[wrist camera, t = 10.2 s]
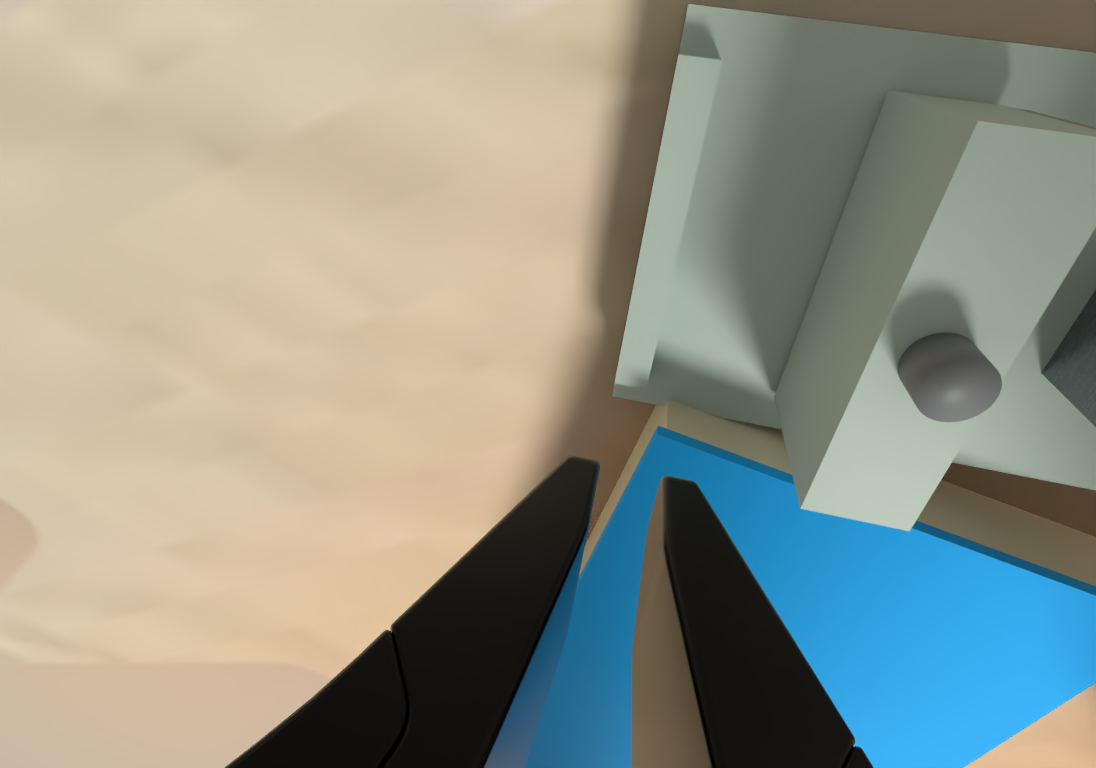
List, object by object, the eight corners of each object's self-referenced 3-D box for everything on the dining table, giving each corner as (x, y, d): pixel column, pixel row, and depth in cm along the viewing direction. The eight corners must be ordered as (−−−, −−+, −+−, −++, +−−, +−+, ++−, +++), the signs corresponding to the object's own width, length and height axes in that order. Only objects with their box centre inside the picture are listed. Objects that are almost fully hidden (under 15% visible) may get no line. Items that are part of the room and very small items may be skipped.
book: (472, 786, 31) (646, 438, 17) (494, 706, 35) (654, 364, 21) (780, 900, 31) (1213, 642, 17) (771, 807, 34) (1122, 531, 20)
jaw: (1016, 107, 13) (1216, 159, 8) (867, 414, 18) (938, 567, 13) (888, 90, 14) (1005, 130, 9) (774, 397, 18) (807, 539, 13)
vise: (1633, 118, 13) (2218, 177, 8) (1249, 499, 18) (1447, 666, 14) (688, 4, 15) (689, -4, 10) (615, 378, 21) (594, 485, 16)
